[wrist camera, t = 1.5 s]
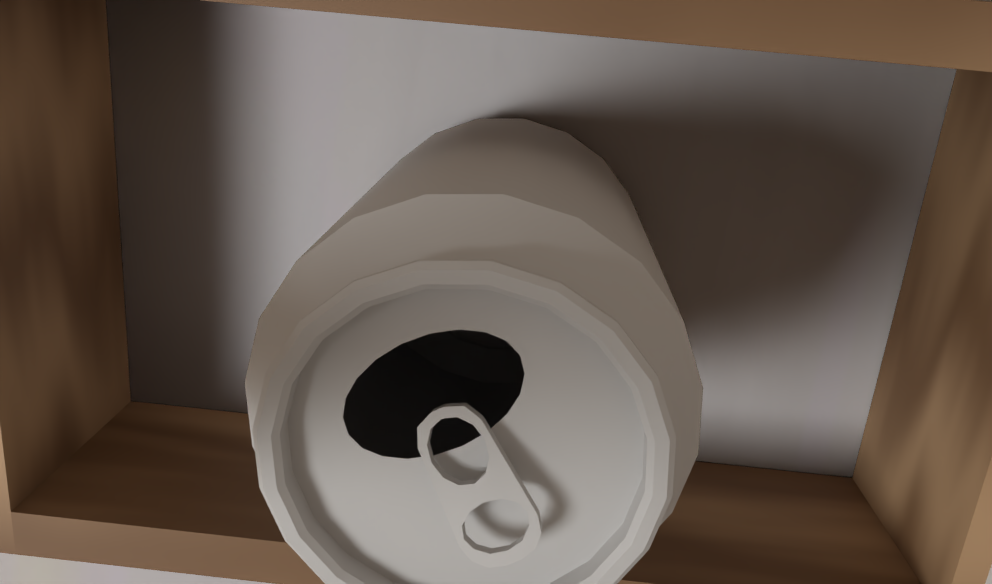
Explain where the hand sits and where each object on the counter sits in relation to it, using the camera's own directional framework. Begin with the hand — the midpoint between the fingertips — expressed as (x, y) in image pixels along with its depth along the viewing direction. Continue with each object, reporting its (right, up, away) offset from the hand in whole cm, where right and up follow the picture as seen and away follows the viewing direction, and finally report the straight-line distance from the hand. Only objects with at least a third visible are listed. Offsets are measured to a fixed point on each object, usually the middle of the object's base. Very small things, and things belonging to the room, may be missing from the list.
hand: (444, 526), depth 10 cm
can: (+1, +4, +13) cm, 14 cm away
